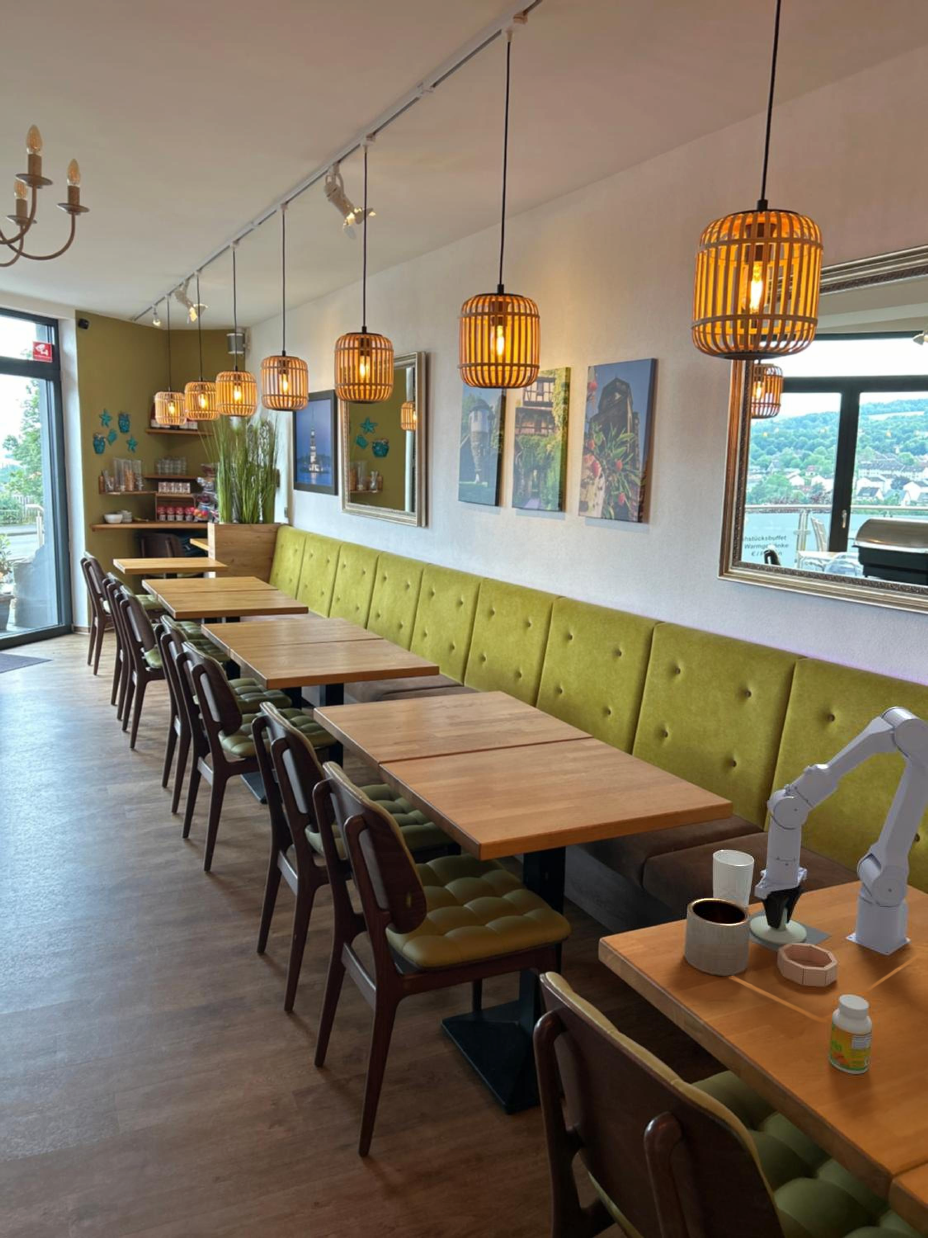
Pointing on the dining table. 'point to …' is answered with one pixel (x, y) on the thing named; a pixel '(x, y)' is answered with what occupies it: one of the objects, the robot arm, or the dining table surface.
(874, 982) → the dining table surface
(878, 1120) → the dining table surface
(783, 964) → the bowl
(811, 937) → the mat
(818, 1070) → the dining table surface
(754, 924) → the lid
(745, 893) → the white cup
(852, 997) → the supplement bottle
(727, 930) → the planter
